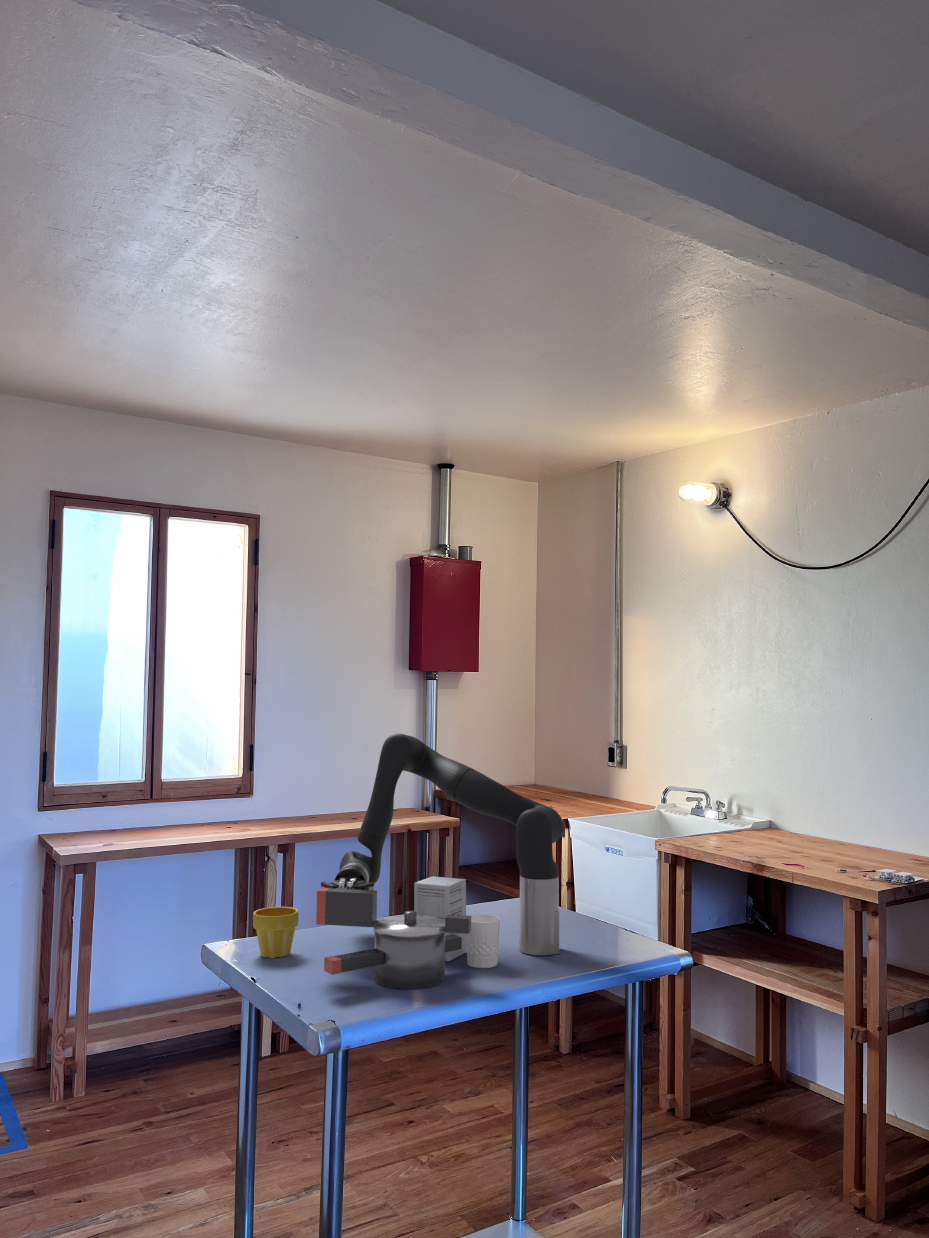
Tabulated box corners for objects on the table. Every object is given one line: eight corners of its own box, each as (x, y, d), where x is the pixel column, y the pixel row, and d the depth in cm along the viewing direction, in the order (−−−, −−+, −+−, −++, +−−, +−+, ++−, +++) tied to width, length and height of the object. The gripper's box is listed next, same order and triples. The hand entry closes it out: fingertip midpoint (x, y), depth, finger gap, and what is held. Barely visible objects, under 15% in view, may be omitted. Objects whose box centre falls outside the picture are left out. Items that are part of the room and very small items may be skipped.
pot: (462, 967, 202) (462, 920, 202) (455, 1001, 179) (456, 948, 180) (342, 964, 203) (343, 918, 204) (320, 997, 180) (322, 945, 181)
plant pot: (242, 954, 210) (244, 910, 211) (280, 945, 218) (281, 903, 219) (269, 963, 203) (270, 918, 204) (306, 954, 211) (307, 910, 212)
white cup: (488, 971, 199) (488, 924, 200) (458, 965, 203) (458, 919, 204) (506, 962, 205) (506, 917, 206) (476, 957, 209) (476, 912, 210)
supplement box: (467, 952, 214) (468, 878, 215) (449, 962, 205) (450, 885, 207) (431, 947, 218) (432, 875, 219) (412, 956, 210) (413, 881, 211)
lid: (476, 923, 199) (476, 889, 200) (462, 941, 184) (462, 904, 184) (331, 915, 205) (331, 882, 206) (305, 932, 190) (306, 896, 191)
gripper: (324, 864, 219) (312, 878, 202) (379, 864, 219) (372, 878, 202) (324, 896, 218) (311, 913, 201) (379, 896, 218) (371, 913, 201)
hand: (342, 895), depth 201 cm, fingers closed
